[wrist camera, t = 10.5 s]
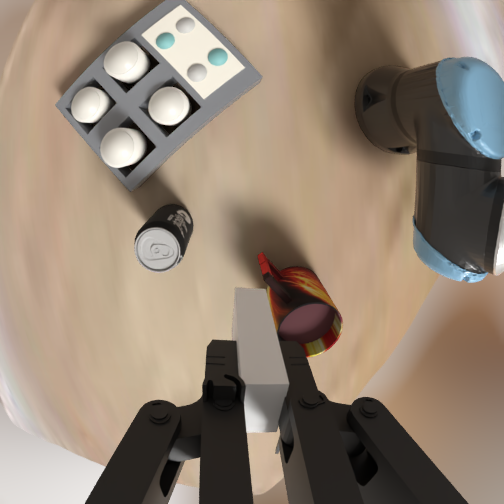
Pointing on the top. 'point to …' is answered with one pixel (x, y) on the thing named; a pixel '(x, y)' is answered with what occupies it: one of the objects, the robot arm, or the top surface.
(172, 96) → the button
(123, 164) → the button
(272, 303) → the mug
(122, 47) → the button
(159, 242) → the beverage can
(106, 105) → the button
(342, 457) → the robot arm
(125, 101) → the board
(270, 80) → the top surface
